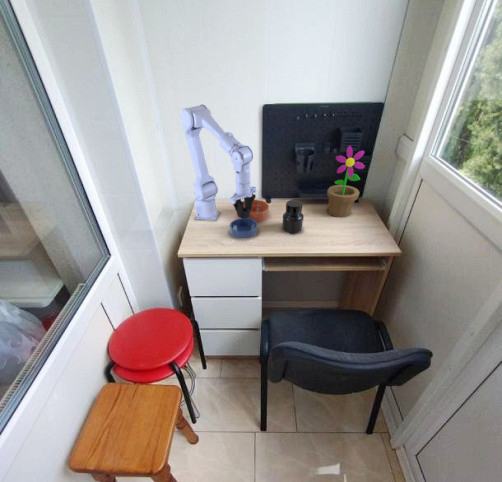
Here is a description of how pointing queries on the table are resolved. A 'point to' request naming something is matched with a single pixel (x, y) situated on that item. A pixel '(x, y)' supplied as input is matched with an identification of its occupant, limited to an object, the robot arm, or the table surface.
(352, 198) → the flowerpot
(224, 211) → the table surface
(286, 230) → the ink bottle
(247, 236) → the blue round dish
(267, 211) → the bowl
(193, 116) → the robot arm
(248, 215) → the ring
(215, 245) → the table surface
